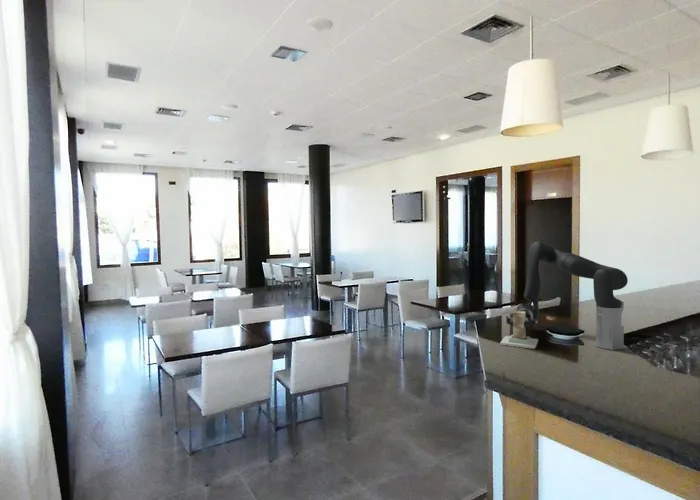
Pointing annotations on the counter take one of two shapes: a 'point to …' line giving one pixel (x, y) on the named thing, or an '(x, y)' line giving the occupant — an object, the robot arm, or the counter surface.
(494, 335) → the counter surface
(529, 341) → the base plate
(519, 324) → the beige square block
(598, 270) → the robot arm
